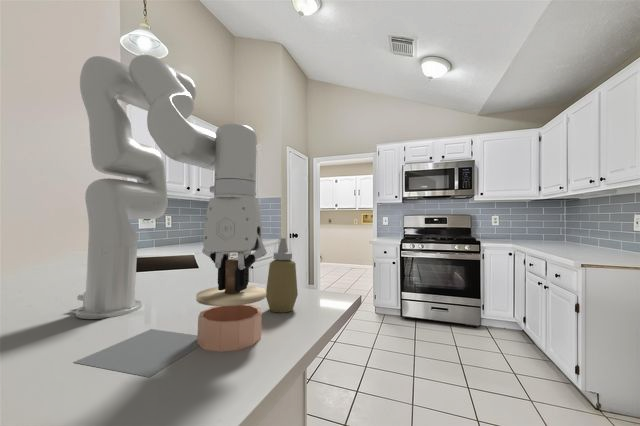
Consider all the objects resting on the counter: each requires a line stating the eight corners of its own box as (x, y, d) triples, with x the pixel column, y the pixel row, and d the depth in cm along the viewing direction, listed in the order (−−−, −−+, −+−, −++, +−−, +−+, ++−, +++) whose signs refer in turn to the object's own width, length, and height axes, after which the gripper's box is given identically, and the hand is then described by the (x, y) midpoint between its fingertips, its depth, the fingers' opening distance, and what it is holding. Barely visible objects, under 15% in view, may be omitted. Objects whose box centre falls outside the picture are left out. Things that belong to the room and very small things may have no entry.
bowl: (184, 348, 48) (185, 318, 48) (221, 326, 59) (222, 302, 59) (241, 357, 45) (242, 325, 46) (270, 332, 56) (270, 306, 56)
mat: (73, 364, 42) (73, 362, 42) (151, 331, 55) (151, 328, 55) (149, 379, 38) (149, 376, 38) (212, 339, 52) (212, 337, 52)
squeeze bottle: (292, 316, 66) (293, 239, 67) (259, 313, 68) (262, 238, 69) (301, 306, 74) (302, 238, 75) (272, 304, 76) (274, 237, 76)
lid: (180, 302, 48) (181, 262, 48) (222, 287, 60) (223, 255, 60) (245, 309, 45) (246, 266, 45) (276, 291, 57) (277, 257, 57)
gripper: (184, 189, 52) (181, 290, 51) (266, 188, 48) (263, 297, 47) (210, 194, 59) (207, 282, 58) (282, 193, 55) (281, 288, 54)
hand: (232, 288), depth 52 cm, fingers closed on lid, 2 cm apart
